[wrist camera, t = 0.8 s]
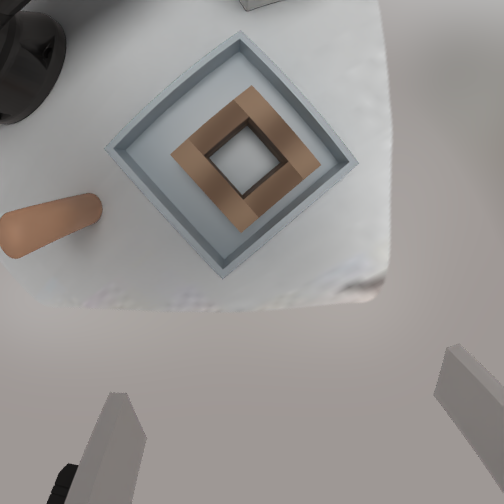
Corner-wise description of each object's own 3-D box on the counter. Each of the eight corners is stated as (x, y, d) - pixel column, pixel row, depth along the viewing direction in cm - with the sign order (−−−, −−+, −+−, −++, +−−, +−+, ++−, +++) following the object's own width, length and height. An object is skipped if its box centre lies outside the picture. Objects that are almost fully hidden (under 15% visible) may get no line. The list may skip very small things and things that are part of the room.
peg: (70, 208, 31) (-9, 234, 18) (88, 186, 31) (10, 201, 17) (89, 230, 32) (16, 267, 19) (108, 209, 32) (36, 236, 18)
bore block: (181, 156, 30) (170, 154, 25) (249, 98, 29) (251, 85, 24) (240, 222, 32) (240, 233, 27) (307, 165, 31) (321, 164, 26)
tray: (118, 150, 30) (103, 148, 26) (240, 45, 28) (240, 30, 24) (224, 266, 34) (222, 279, 30) (345, 163, 32) (359, 163, 28)
